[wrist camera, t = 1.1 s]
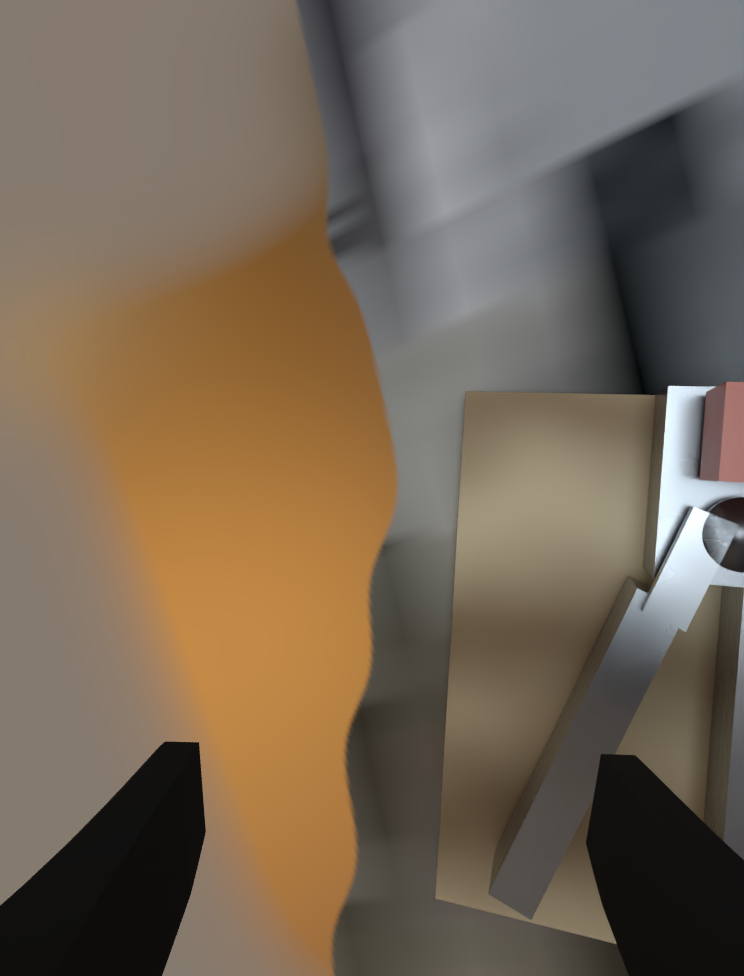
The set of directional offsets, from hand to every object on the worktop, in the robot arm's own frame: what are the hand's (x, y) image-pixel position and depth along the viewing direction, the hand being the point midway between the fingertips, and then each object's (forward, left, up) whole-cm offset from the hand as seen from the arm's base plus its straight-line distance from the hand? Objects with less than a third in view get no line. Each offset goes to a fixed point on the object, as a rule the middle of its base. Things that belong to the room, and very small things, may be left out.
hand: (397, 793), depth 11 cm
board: (-1, -5, -12) cm, 13 cm away
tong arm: (-1, -5, -10) cm, 12 cm away
